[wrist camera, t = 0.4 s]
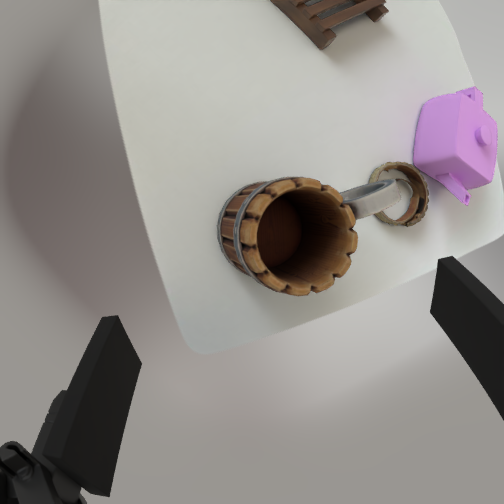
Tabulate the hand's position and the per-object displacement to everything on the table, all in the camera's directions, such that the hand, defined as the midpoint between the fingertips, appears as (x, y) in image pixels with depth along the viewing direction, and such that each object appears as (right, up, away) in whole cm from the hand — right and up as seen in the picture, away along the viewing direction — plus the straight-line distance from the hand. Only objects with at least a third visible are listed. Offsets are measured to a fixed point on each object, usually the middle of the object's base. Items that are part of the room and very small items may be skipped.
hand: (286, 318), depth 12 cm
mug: (+2, +6, +25) cm, 26 cm away
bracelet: (+17, +10, +27) cm, 33 cm away
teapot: (+26, +18, +27) cm, 42 cm away
